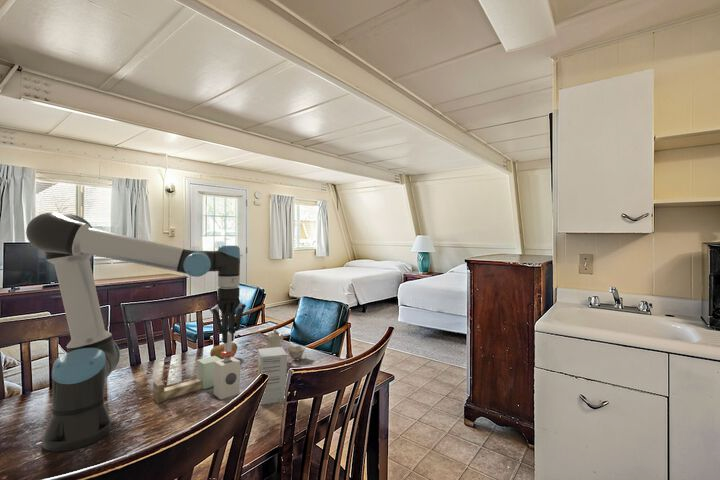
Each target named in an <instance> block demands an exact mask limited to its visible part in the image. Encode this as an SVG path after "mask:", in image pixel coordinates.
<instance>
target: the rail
mask: <svg viewBox="0 0 720 480" xmlns="http://www.w3.org/2000/svg"><path fill="white" fill-rule="evenodd" d="M152 383H153V385H152V399H153V401H155V403H156V404H160V403H163V402H165V401H166V400H169V399H172V398H176V397H179V396H183V395H186V394H189V393H193V392H195V391H199V390H203V389H202V380H201V379H197V378H196V379H193V380H189V381H185V382H181V383H177V384H175V385H171V386H167V387H165V383H164V382H163V381H161V379H158V380H154V381H153V382H152Z"/></svg>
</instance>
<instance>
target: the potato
mask: <svg viewBox="0 0 720 480" xmlns="http://www.w3.org/2000/svg"><path fill="white" fill-rule="evenodd" d="M232 350H233V351H234V355H233V356H231V357H233V358H234V357H235V355H236V354H237V351H238V345H237V343H236V342H234V341H233V342H232ZM222 351H224V343H222V344H219V345H217V346H214V347H212V348H211V349H210V353H209V354H210V357H212V356H216V357H218V358H220V359H224V357H222V356H221V352H222Z"/></svg>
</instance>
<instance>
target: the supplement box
mask: <svg viewBox="0 0 720 480" xmlns="http://www.w3.org/2000/svg"><path fill="white" fill-rule="evenodd" d="M287 367H288V354H287V352H286V350H285V349H284V347H283V346H281V347H274V348H266V347H265V348H259V349H258V350H257V376H259V375H260V374H262V373H266V374H268V375H269V380H268V383H267V386H266V390H265V393H264V395H263V398H262V401H261V404H260V403H259V405H260V406H263V405H269V404H275V403H276V404H277V403H280V402H285V401H284V391H285V385H286V386H287V371H288V370H287V369H288V368H287Z"/></svg>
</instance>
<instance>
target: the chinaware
mask: <svg viewBox="0 0 720 480" xmlns="http://www.w3.org/2000/svg"><path fill="white" fill-rule="evenodd" d="M266 336H267V338H266V342H267V343H266V347H265V348H274V347H282V345H283V343H284V335H283V334H282V333H281V332H278V331H277V330H276V328H274V329H273V330H272V331H271V332H270V333H268V334H266ZM305 350H306V347H303V346H301V345H296V346H289V347H288V348H287V349H286V351H287V353H288V355H289V357H290V358H291V359H292V360H293V359H294V360H297V359H299V360H300V358H302V357H303V355H304V352H305ZM294 360H293V361H294ZM297 361H298V360H297Z"/></svg>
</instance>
